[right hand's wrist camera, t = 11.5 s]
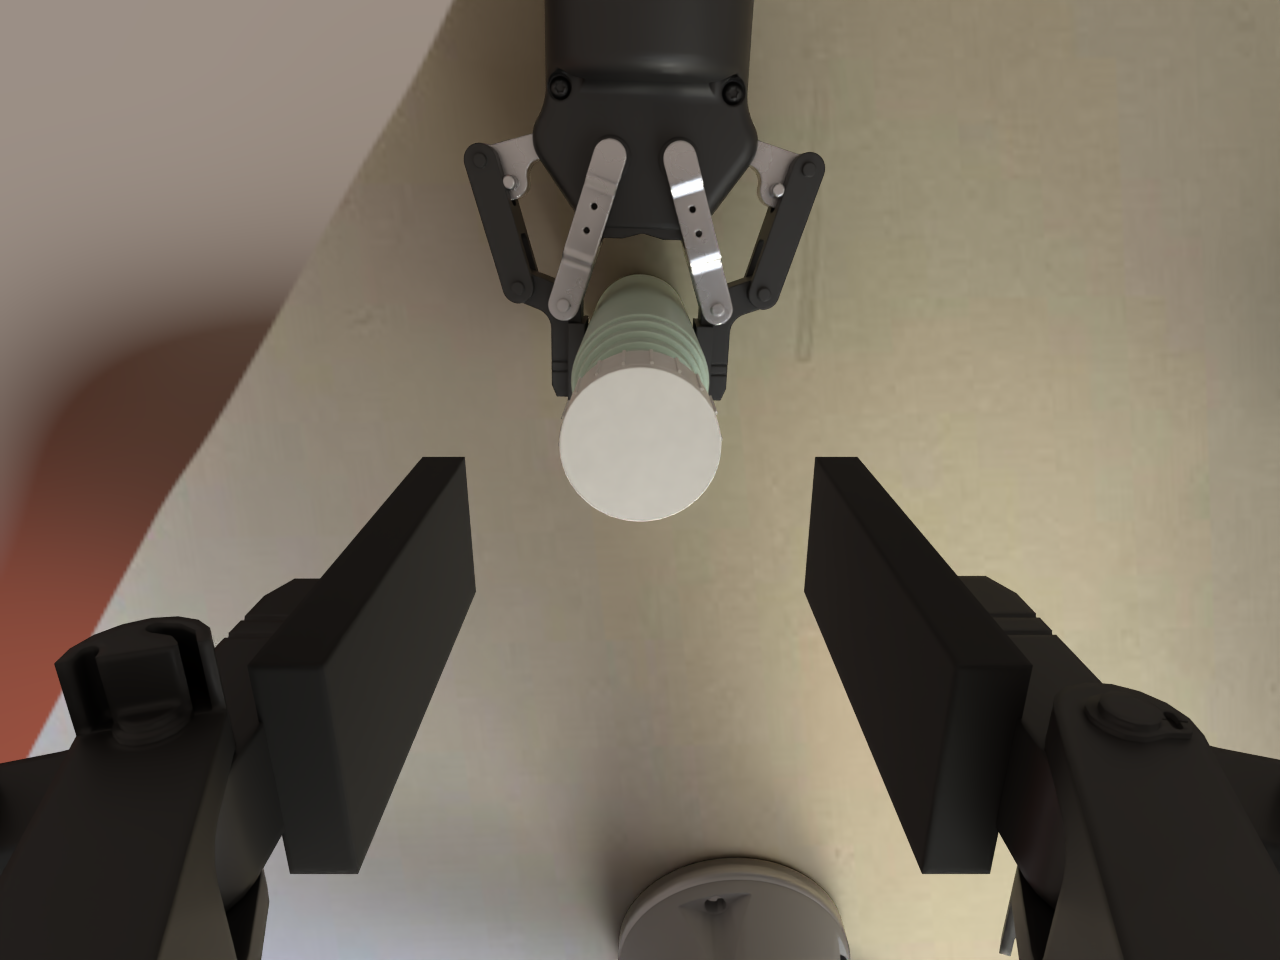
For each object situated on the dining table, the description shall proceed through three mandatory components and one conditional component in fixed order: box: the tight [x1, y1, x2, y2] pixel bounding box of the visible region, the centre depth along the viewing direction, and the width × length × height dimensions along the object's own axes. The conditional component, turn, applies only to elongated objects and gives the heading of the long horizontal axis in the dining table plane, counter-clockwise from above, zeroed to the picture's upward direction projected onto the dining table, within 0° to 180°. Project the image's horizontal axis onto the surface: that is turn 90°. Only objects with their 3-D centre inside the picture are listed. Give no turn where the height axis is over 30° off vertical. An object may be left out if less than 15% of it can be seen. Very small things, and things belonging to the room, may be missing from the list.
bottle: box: [571, 274, 709, 394], centre depth 28 cm, size 4×4×20 cm
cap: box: [558, 349, 722, 522], centre depth 20 cm, size 4×4×2 cm
